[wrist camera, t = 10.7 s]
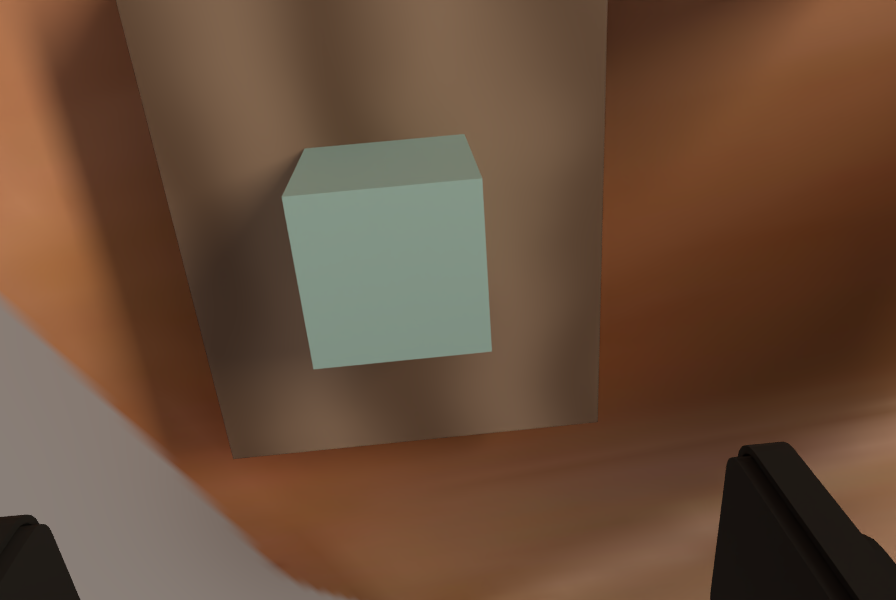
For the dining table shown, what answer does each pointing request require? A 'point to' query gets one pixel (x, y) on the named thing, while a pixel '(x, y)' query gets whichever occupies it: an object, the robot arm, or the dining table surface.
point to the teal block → (390, 250)
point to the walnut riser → (375, 120)
